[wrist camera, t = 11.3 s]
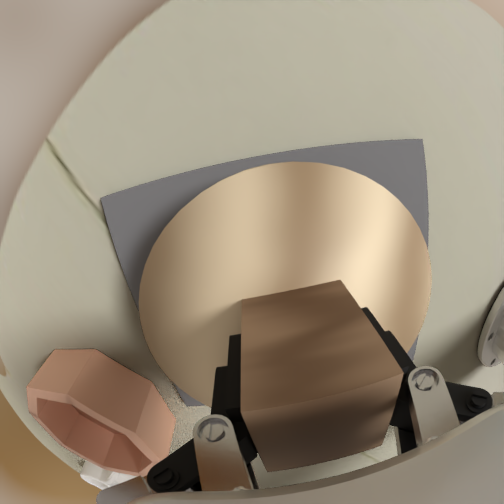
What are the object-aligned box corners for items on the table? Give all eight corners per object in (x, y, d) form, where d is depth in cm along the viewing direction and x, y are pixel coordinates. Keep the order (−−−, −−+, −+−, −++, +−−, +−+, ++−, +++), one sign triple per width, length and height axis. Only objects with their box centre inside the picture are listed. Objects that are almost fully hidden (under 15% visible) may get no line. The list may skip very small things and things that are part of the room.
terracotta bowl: (133, 346, 17) (107, 398, 12) (190, 438, 21) (183, 481, 16) (32, 348, 17) (5, 381, 12) (93, 430, 21) (80, 463, 16)
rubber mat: (417, 139, 12) (422, 139, 12) (410, 356, 18) (413, 360, 17) (104, 196, 13) (100, 198, 13) (187, 401, 19) (186, 406, 18)
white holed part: (211, 492, 27) (171, 503, 31) (95, 447, 23) (80, 465, 27) (210, 510, 24) (169, 517, 28) (88, 465, 20) (75, 479, 24)
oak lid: (421, 146, 10) (535, 158, 4) (407, 378, 15) (447, 448, 9) (103, 205, 11) (-4, 259, 4) (197, 421, 16) (186, 505, 9)
